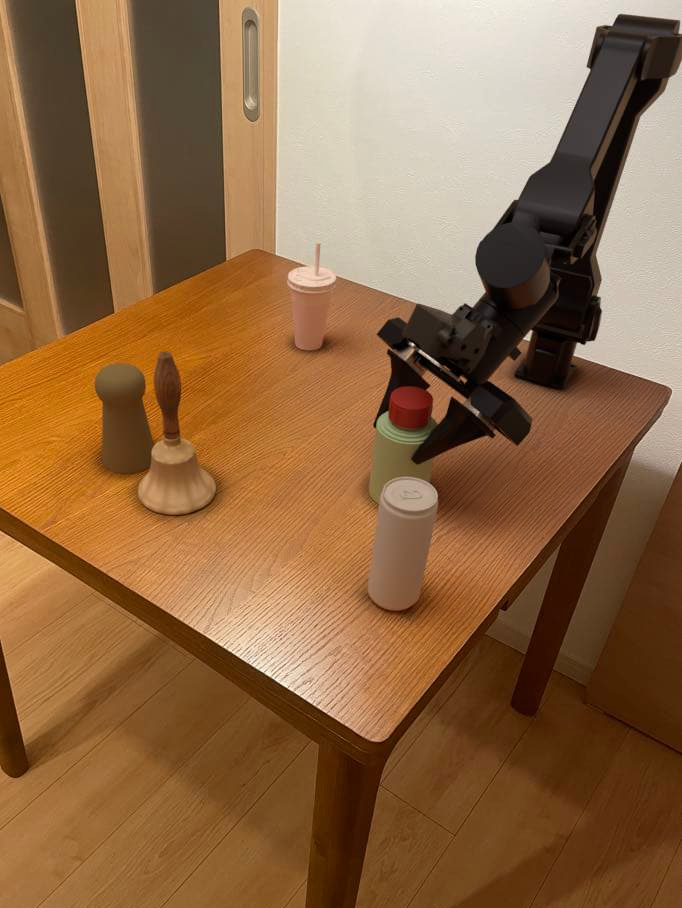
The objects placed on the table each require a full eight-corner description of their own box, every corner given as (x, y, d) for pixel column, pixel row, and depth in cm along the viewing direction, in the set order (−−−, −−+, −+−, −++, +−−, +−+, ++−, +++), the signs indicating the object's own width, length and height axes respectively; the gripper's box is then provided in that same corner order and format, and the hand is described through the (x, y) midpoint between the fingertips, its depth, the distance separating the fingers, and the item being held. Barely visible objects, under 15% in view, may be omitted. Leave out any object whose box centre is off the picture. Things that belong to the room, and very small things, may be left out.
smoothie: (327, 357, 107) (335, 255, 97) (281, 352, 108) (283, 249, 98) (335, 335, 111) (342, 235, 102) (289, 330, 112) (293, 230, 103)
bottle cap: (398, 401, 81) (401, 382, 79) (436, 413, 79) (439, 393, 78) (381, 421, 78) (383, 401, 77) (420, 433, 77) (423, 413, 75)
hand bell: (121, 496, 84) (102, 360, 73) (172, 458, 89) (161, 326, 78) (182, 526, 80) (172, 388, 70) (231, 485, 86) (228, 350, 75)
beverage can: (362, 577, 75) (376, 476, 67) (412, 575, 76) (432, 474, 68) (371, 615, 72) (387, 512, 64) (424, 613, 72) (446, 510, 64)
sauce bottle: (383, 467, 88) (395, 378, 81) (435, 486, 86) (453, 396, 79) (358, 498, 84) (368, 407, 77) (412, 518, 82) (428, 426, 75)
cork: (165, 448, 90) (158, 361, 83) (141, 478, 86) (131, 389, 79) (117, 437, 92) (106, 351, 84) (91, 466, 87) (77, 378, 80)
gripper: (402, 237, 77) (300, 366, 80) (537, 318, 65) (411, 465, 68) (453, 297, 85) (358, 412, 89) (582, 378, 73) (466, 507, 77)
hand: (394, 445), depth 80 cm, fingers closed on sauce bottle, 6 cm apart
